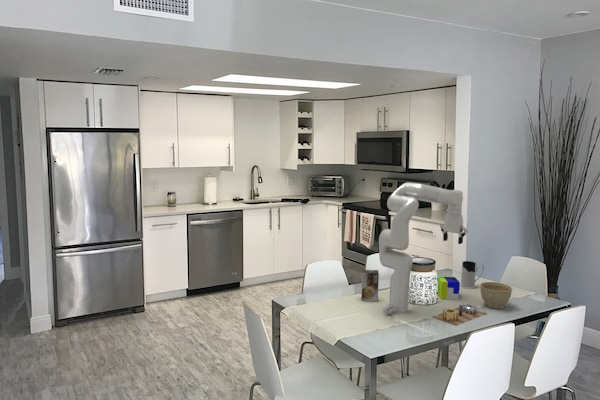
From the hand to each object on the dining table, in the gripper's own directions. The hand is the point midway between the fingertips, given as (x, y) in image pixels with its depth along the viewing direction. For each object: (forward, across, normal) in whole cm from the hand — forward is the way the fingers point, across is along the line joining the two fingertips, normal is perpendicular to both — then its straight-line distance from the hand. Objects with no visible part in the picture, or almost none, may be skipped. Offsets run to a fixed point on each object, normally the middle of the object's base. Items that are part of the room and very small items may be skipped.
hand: (452, 242), depth 286 cm
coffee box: (+31, -23, -42) cm, 57 cm away
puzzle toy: (+32, 0, -2) cm, 32 cm away
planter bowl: (+32, +25, +5) cm, 41 cm away
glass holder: (+31, -2, +26) cm, 41 cm away
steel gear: (+30, +24, -18) cm, 42 cm away
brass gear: (+30, +24, -35) cm, 52 cm away
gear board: (+31, +24, -27) cm, 48 cm away
